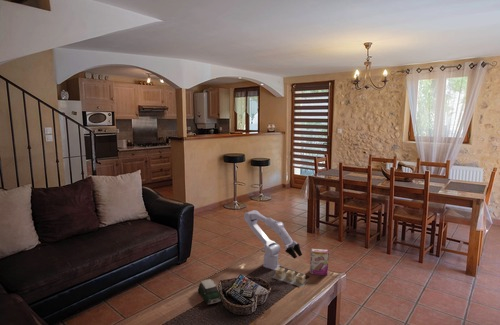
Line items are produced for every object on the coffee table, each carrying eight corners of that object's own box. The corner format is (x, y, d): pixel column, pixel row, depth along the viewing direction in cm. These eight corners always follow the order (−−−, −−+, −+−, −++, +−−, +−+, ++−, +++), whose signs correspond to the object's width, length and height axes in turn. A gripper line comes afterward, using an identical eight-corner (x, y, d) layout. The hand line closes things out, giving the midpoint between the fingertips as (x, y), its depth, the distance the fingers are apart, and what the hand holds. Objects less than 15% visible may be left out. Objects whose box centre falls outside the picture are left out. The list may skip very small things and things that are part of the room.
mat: (271, 278, 200) (271, 277, 200) (278, 271, 208) (278, 271, 208) (302, 288, 189) (302, 287, 189) (308, 280, 198) (308, 279, 198)
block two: (295, 282, 194) (296, 275, 194) (298, 279, 198) (298, 272, 197) (302, 284, 192) (302, 277, 191) (305, 281, 196) (305, 274, 195)
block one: (275, 276, 201) (275, 269, 201) (278, 273, 205) (278, 266, 204) (281, 278, 199) (282, 271, 198) (284, 275, 203) (285, 268, 202)
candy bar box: (310, 275, 205) (311, 251, 202) (309, 271, 210) (310, 248, 207) (327, 276, 204) (328, 252, 201) (326, 272, 209) (327, 249, 206)
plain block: (285, 279, 198) (285, 272, 197) (288, 276, 202) (288, 269, 201) (292, 281, 196) (292, 274, 195) (294, 278, 199) (295, 271, 199)
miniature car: (207, 308, 169) (207, 294, 168) (197, 291, 185) (196, 278, 184) (222, 303, 173) (223, 290, 172) (211, 287, 189) (211, 275, 188)
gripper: (285, 236, 196) (297, 255, 191) (295, 233, 208) (307, 251, 203) (277, 242, 199) (289, 261, 193) (288, 239, 211) (299, 257, 205)
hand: (298, 256), depth 198 cm, fingers open, 7 cm apart
